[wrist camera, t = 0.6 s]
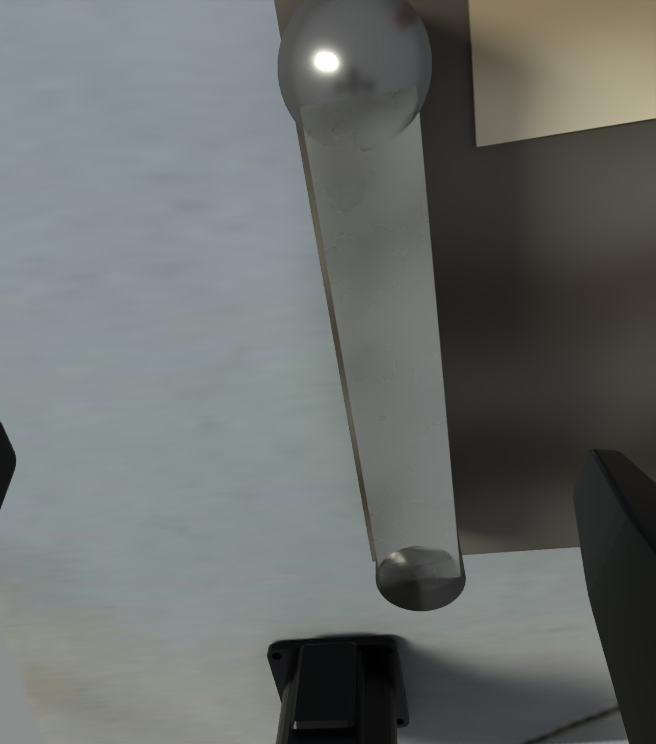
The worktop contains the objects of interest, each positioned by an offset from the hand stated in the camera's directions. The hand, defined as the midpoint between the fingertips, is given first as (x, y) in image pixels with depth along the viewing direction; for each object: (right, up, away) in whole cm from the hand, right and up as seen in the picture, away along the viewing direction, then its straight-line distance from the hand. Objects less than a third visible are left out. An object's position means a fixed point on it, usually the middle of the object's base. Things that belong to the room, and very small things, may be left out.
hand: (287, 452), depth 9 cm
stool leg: (+3, +3, +10) cm, 11 cm away
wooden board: (+9, +4, +12) cm, 15 cm away
